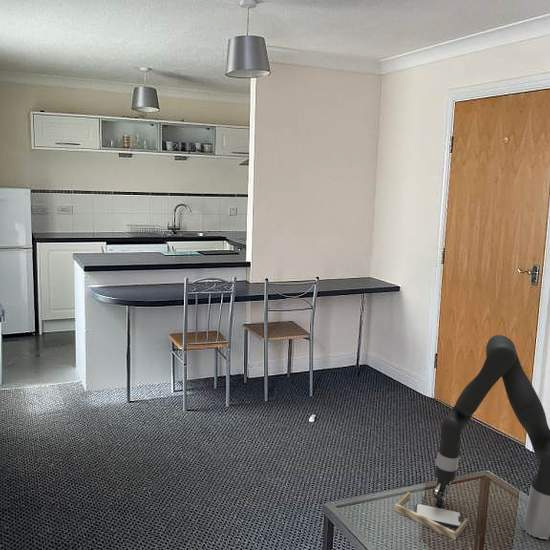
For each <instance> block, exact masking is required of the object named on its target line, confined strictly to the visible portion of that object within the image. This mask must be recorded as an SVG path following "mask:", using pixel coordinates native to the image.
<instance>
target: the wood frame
mask: <svg viewBox="0 0 550 550" xmlns="http://www.w3.org/2000/svg"><path fill="white" fill-rule="evenodd" d="M410 498H411V492H410V491H407V492H406V494H404V496H402V497H401V498H400V499H399V500H398V501H397V502H396V503H395V504H394V508H393V509H394V511H395V512H396V513H398V514H401V515H402V516H404V517H406V518H408V519H411V520H413V521H414V522H417V523H418V524H421V525H423V526H425V527H427V528H429V529H431V530H433V531H435V532H437V533H439V534H441V535H442V536H445V537H447V538H449V539H452V540H453V541H456V540H457V539H458V537H459V536H460V535H461V534H462V533H463V531H464V530H465V528H466V527H467V526H468V521H469V518H467V517H465V518H464V520H462V523H461V525H460V526H459V527H458V528H457V529H455V531H454V530H452V528H451V529H450V527H446V526H442V525H440V524H438V523H436V522H434V521H432V520H430V519H428V518H426V517H424V516H422V515H420V514H418V513H416V512H415V511H413V510H412V509H409V508H407V507H406V506H403V505H405V504H406V502H407V501H409V500H410Z"/></svg>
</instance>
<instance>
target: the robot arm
mask: <svg viewBox="0 0 550 550" xmlns="http://www.w3.org/2000/svg"><path fill="white" fill-rule="evenodd" d="M485 351H486V352H485V356H486V358H485V361H484V362H483V365H482V367H481V369H480V370H479V372H478V373H477V375H476V376H475V377H474V378H473V379H472V380H471V381H470V382H469V383H468V384H467V385H466V386H465V387H464V389H463V390H462V392H461V393H460V395H459V396H458V398H457V400H456V402H455V404H454V406H453V407H452V409H451V410H450V411H449V413H448V414H447V415H446V416H445V417H444V419H443V420H442V422H441V426H440V443H439V446H438V447H439V448H438V453H437V456H436V461H435V467H434V472H433V474H434V476H435V477H436V478H437V480H436V482H435V488H433V489H432V494H433V498H434V499H436V500H435V507H436V508H441V509H442V508H443V506H444V501H445V498H446V495H447V494H448V493H449V491H450V487H451V485H452V483H453V481H455V479H457V478H456V476H457V472H458V466H459V462H460V461H459V460H460V454H461V453H460V452H461V447H462V444H461V443H462V442H461V440H460V439H461V434H462V431H463V430H464V429H465V428H466V427H467V425H468V423H469V422H470V420H471V419H472V416H473V414H475V412H476V411H477V410H478V408H479V407H480V405H481V404H482V403H483V401H484V400H485V398H486V396H487V395H488V394H489V392H490V391H491V389H492V388H493V387H494V386H495V384H496V383H497V382H498V381H499V380H500V379H501V380H502V382H503V385H504V390H505V392H506V396H507V400H508V402H509V405H510V407H511V409H512V410H513V413H514V415H515V416H516V418H517V420H518V423H520V425H521V427H522V428H523V430H524V431H525V432H526V434H527V436H528V438H529V440H530V441H529V442H530V443H531V447H532V449H533V452H534V456H535V459H536V461H537V463H538V465H539V467H538V471H537V474H535V475H533V477H532V479H531V484H530V489H529V493H528V497H527V502H526V505H525V512H524V515H523V521H522V525H521V526H522V527H521V528H522V530H523V531H524V530H525V531H526V532H525V531H524V532H525V534H527V533H528V534H529V535H528V534H527V535H528V536H530V535H532V536H536V537H546V538H549V536H550V427H549V424H548V421H547V415H546V412H545V409H544V406H543V404H542V402H541V400H540V398H539V396H538V394H537V392H536V390H535V388H534V387H533V385H532V382H531V381H530V379H529V377H528V376H527V374H526V372H525V371H524V368H523V367H522V365H521V364H522V363H521V362H520V359H519V355H518V352H517V349H516V345H515V344H514V342H513V340H511V339H510V338H509V337H507V335H506V336H505V335H501V334H496V335H493V336H492V337H490V338H489V340H488V341H487V343H486V347H485ZM549 539H550V538H549Z"/></svg>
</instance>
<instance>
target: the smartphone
mask: <svg viewBox="0 0 550 550" xmlns="http://www.w3.org/2000/svg"><path fill="white" fill-rule="evenodd" d="M414 512H416V513H418V514H420V515H422V516H424V517H426V518H428V519H430V520H432V521H434V522H436V523H438V524H440V525H442V526H445V527H447V528H451V529H454V530H457V528H458V527H459V526H460V525H461V523H462V522H463V520H462V513H461V512H459V511H454V510H450V509H444V508H442V507H441V508H439V507H436V506H432V505H431V506H430V505H426V504H422V503H417V504H416V505H415V511H414Z"/></svg>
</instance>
